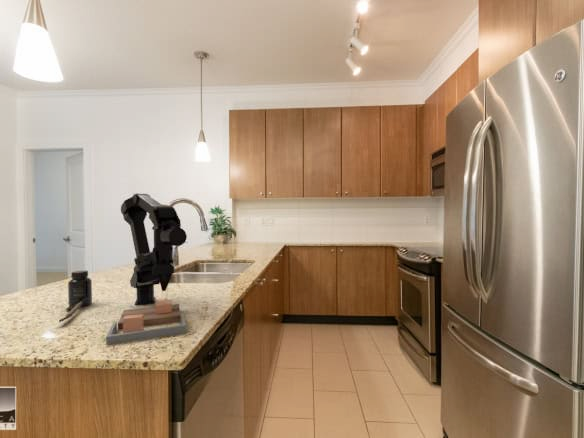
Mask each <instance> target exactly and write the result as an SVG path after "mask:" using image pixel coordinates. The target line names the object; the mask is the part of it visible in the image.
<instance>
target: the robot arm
mask: <svg viewBox="0 0 584 438" xmlns="http://www.w3.org/2000/svg"><path fill="white" fill-rule="evenodd" d="M120 213H121V214H122V217H123V220H124V222H126V223H127V224H128V225H129V227H130V232H131V237H132V241H133V248H134V251H135V258H134V259H133V261H134V264H135V265H134V267H133V272H132V276H131V278H130V280H129V282H130V283H129V284H130V287H131V288H133V289H136V299H135V302H134V306H139V305H149V304H156V297H155V285H160V287H161V291H162V292H165V291H166V290H167V288H168V285H169V283H170V282H171V281H170V280H171V278H172V276H173V274H174V273H175V265H174V252H173V250H174V248H173V247H180V246H182V245H184V244H185V243H186V240H187V237H188V236H187V233H186V231H185V230H184V229H183V228H181V227H182V224H181V219H180V217H179V215H178V213H177V210H176V209H175V208H174V206H172V205H168V204H161V203H160V202H159V201H157V200H155V199H154V198H153V197H151V195H150V194H148V193H134V194H133V195H132V196H131V197H129V198H127V199H125V200H124V201H123V203H122V204H121V205H120ZM147 213H148V214H147ZM147 215H148V219H149V220H150V221H151V223H152V224H153V226H152V228H151V230H153V247H152V251H150V250H151V249H150V245H149V240H148V237H147V232H146V231H147V230H146V226H145V219H146V218H147Z"/></svg>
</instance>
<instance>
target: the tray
mask: <svg viewBox="0 0 584 438" xmlns="http://www.w3.org/2000/svg"><path fill="white" fill-rule="evenodd" d="M180 323H181V324H179V325H172V326H166V327H160V328H159V327H157V328H152V329H151V328H150V329H145V330H143V331H136V332H129V333H123V332H122V333H117V331H118V322H116V321H115V322H113V323H112V324H111V326H110V328H109V330H108V332H107V334H106V336H105V344H106V346H107V345H108V346H110V345H116V344H122V343H123V344H124V343H128V342H133V341H134V342H135V341H142V340H150V339H156V338H162V337H169V336H177V335H183V334H186V333H187V324H186V318H185V313H180Z"/></svg>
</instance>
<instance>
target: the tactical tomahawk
mask: <svg viewBox="0 0 584 438" xmlns="http://www.w3.org/2000/svg"><path fill="white" fill-rule="evenodd" d="M86 300H89V298H86V299H85V300H82V301H80V302H78V303H76V304H73V305H71V306H69V305H68V307H67V308H66V311H68V310H70V309H71V310H70V311H69V312H68V313H67V314H66V315H65V317H63V318H61V319H59V320H58V322H59V323H62V322H64V321H65V320H67V319H69V318H71V317H73V315H74V314H75V313H76V312H77V311H78V310H79V308H81V307H80V306H81V305H82V304H83V303H82V302H84V301H86ZM74 306H75V307H74ZM72 307H74V308H72Z"/></svg>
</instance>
